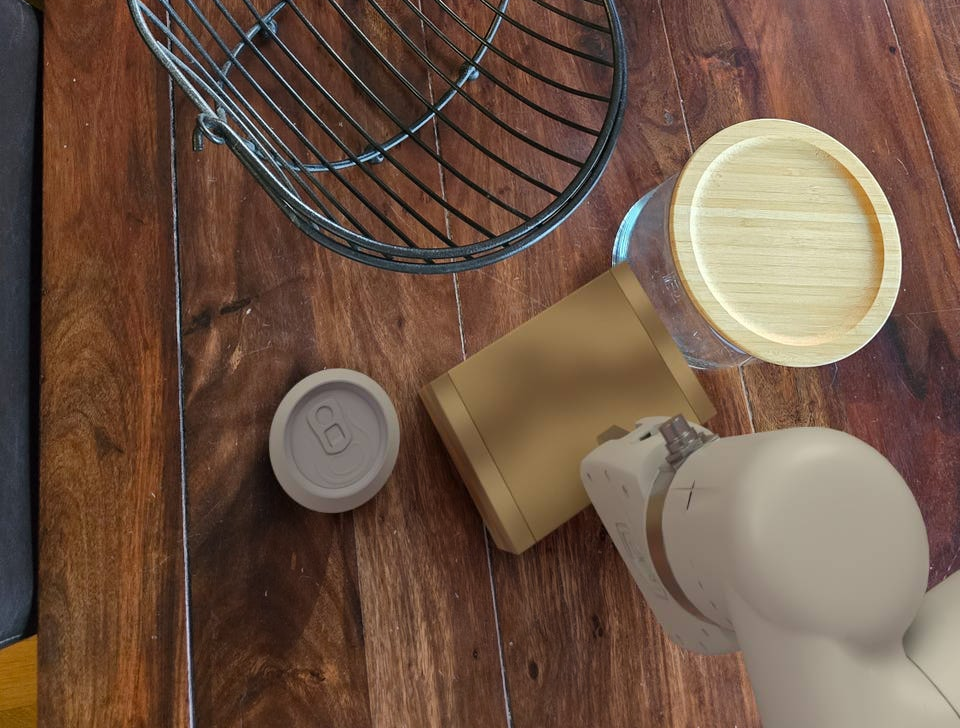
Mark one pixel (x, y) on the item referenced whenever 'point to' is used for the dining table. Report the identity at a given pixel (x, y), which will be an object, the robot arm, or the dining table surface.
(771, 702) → the robot arm
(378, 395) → the beverage can
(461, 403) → the gold flanged block
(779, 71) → the dining table surface
